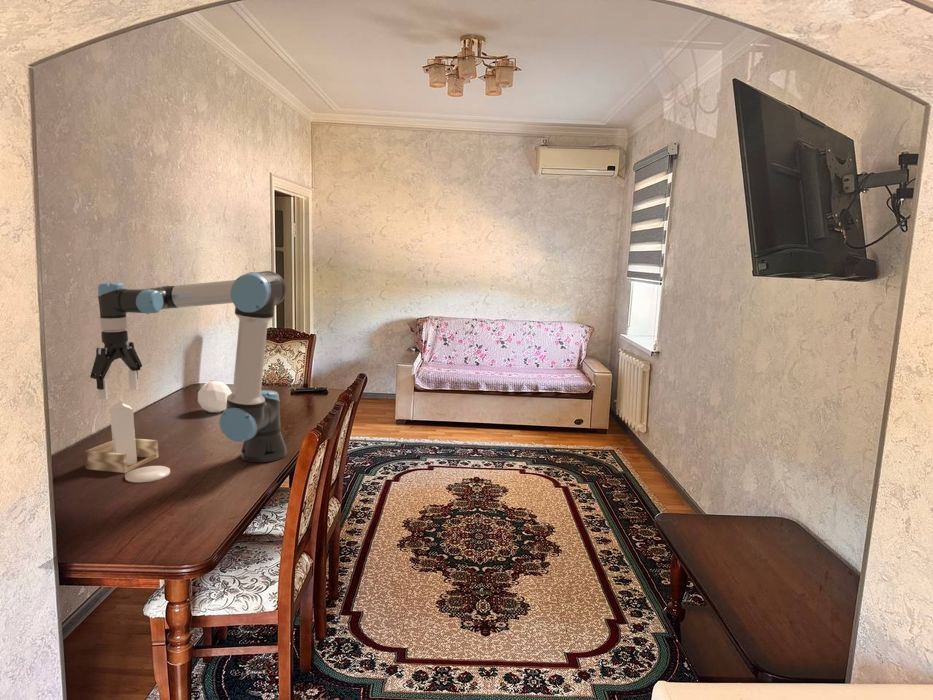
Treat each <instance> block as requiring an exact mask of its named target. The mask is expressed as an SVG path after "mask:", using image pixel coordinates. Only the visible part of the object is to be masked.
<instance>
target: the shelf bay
mask: <svg viewBox="0 0 933 700" xmlns="http://www.w3.org/2000/svg"><path fill="white" fill-rule="evenodd" d="M135 443H136V455H137V457H139V458H144V459H142V460H139V461H137V463H135V464H133V465H127V456H126V454H122V453H114V452H113V440H110V441H107V442H104V443H102V444H98V445H97V446H93V447H92V448H90V449H86V450H84V451H83V455H84V464H85V470H92V471H93V470H94V471H102V472H112V473H122V474H126V473H128V472H129V471H132V470H134V469H137V468H140V467H141V466H143V465H145V464H147V463H149V462H151V461H153V460H155V459H158V458H159V456H160V455H159V442H158V440H157V439H147V438H145V439H144V438H136V437H135Z"/></svg>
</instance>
